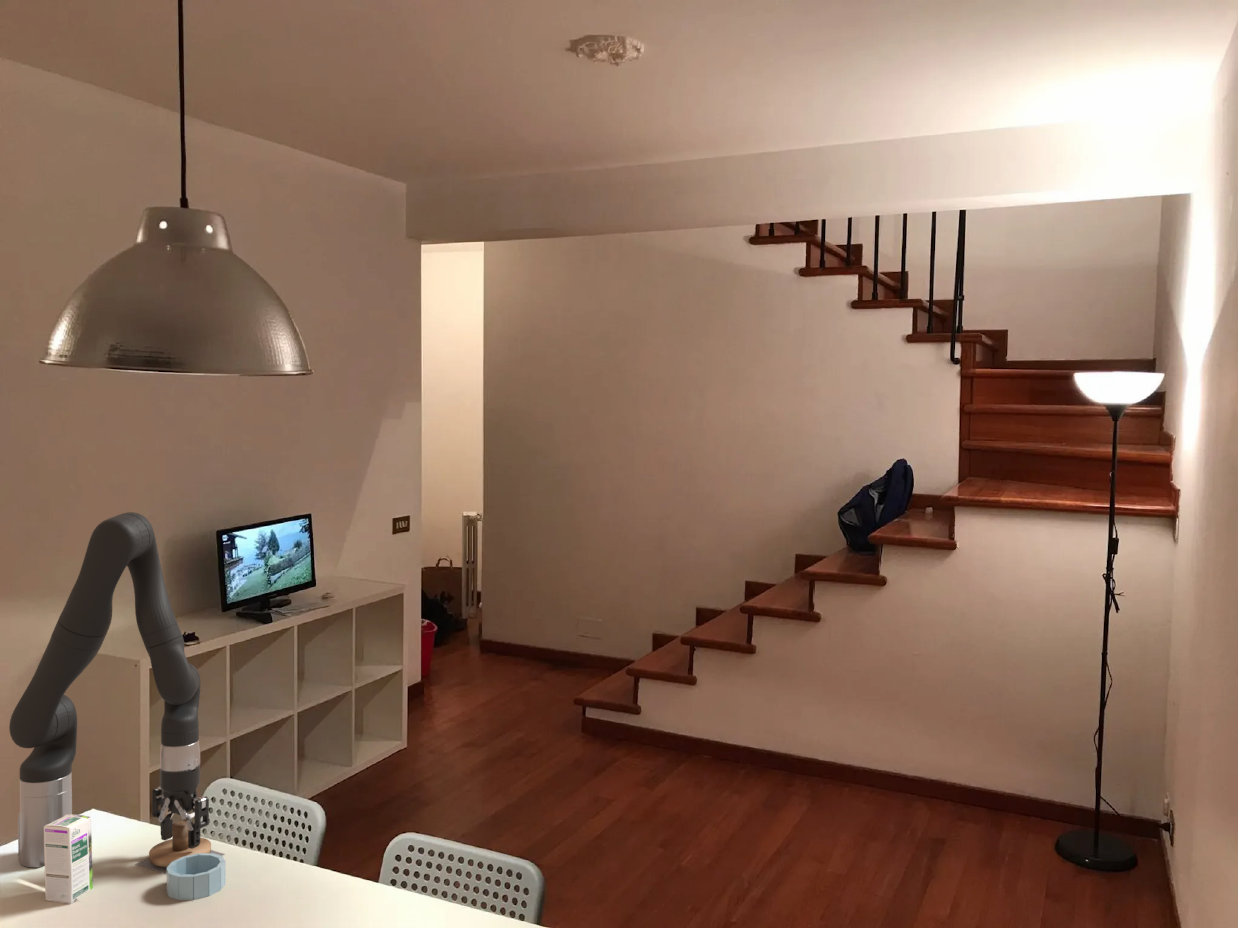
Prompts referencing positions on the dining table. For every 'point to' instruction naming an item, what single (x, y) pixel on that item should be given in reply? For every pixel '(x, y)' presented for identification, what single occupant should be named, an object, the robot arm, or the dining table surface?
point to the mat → (161, 869)
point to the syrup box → (68, 858)
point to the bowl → (195, 876)
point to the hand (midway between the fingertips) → (180, 842)
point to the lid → (176, 846)
